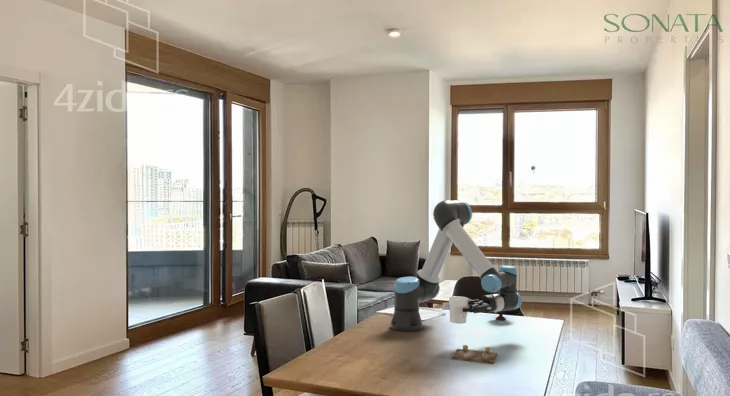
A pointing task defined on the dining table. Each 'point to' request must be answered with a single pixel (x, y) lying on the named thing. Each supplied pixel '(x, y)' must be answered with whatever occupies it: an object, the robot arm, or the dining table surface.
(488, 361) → the holder
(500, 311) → the ice cream bowl
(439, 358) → the dining table surface
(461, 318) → the white cup
